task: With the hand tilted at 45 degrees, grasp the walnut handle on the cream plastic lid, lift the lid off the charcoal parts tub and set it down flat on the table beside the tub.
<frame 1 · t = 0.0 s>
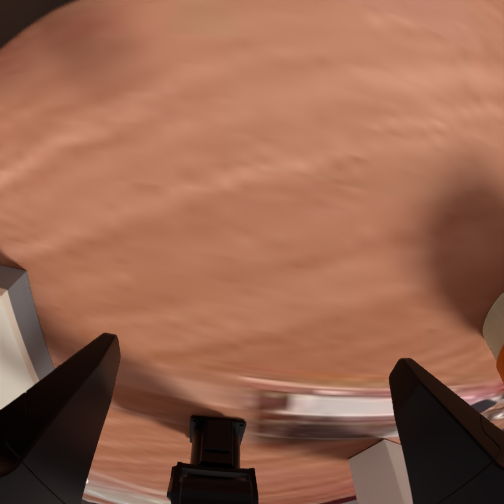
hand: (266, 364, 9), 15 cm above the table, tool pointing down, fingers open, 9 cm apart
milk carton: (376, 451, 41), on the table
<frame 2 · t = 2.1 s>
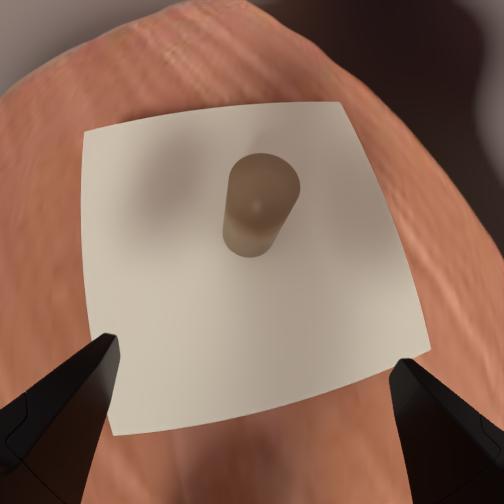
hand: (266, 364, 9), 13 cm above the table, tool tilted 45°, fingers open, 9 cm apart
tub lid: (244, 244, 21), point 3 cm above the table, touching parts tub
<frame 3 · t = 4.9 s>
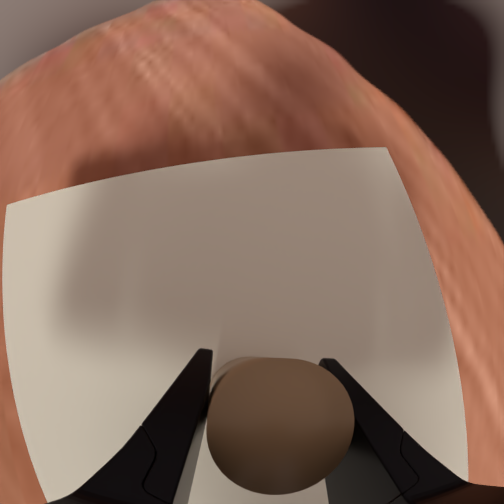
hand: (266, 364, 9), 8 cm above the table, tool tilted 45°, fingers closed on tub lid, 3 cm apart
tub lid: (243, 389, 13), point 3 cm above the table, touching gripper, parts tub
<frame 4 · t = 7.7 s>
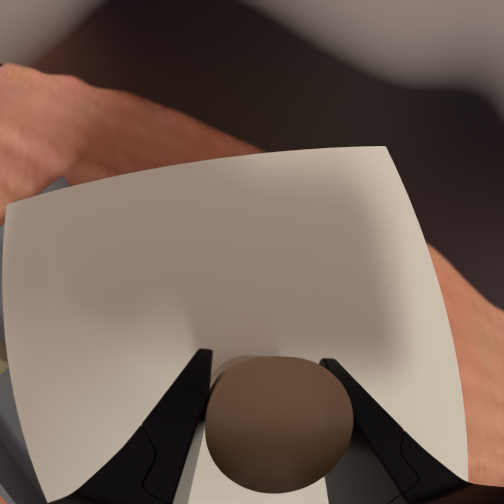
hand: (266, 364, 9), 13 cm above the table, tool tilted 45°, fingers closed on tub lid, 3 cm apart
parts tub: (46, 368, 19), on the table
tub lid: (242, 389, 13), point 8 cm above the table, touching gripper
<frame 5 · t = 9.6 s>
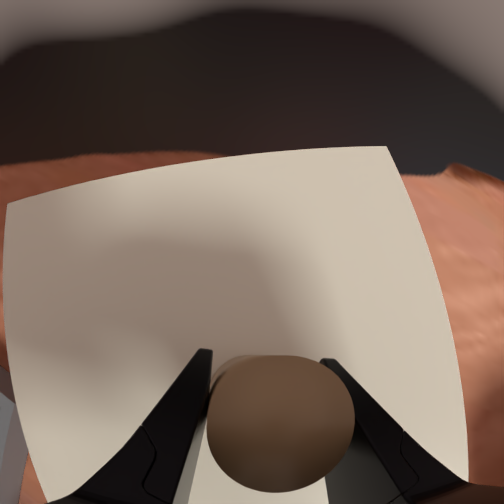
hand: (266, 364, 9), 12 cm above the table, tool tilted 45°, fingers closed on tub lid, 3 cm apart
tub lid: (243, 388, 13), point 7 cm above the table, touching gripper
when the fingers open (7 cm above the table, at t = 10.9 s): tub lid drops 2 cm, on the table.
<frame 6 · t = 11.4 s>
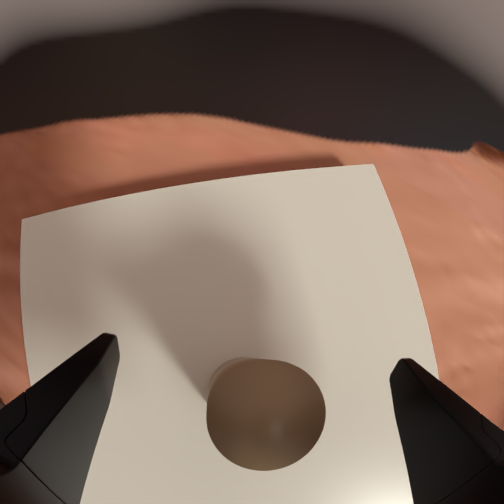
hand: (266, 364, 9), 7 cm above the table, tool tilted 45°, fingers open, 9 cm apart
tub lid: (239, 387, 15), on the table
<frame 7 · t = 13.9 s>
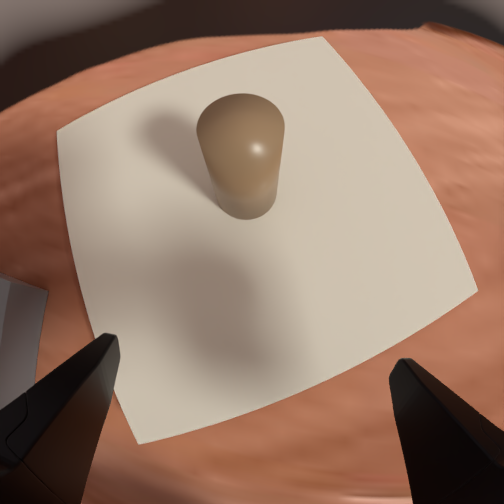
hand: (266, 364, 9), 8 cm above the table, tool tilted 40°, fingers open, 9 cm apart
tub lid: (247, 206, 19), on the table
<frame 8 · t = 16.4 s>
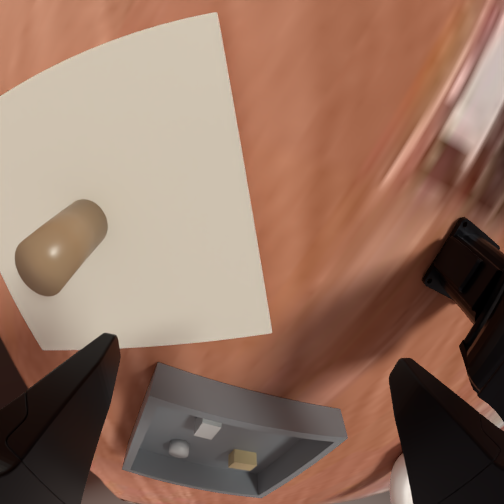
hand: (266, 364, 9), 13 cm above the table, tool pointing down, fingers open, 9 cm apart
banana: (405, 453, 39), on the table
parts tub: (221, 436, 32), on the table
tub lid: (99, 211, 20), on the table
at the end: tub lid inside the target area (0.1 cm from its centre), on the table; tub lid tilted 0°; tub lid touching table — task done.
